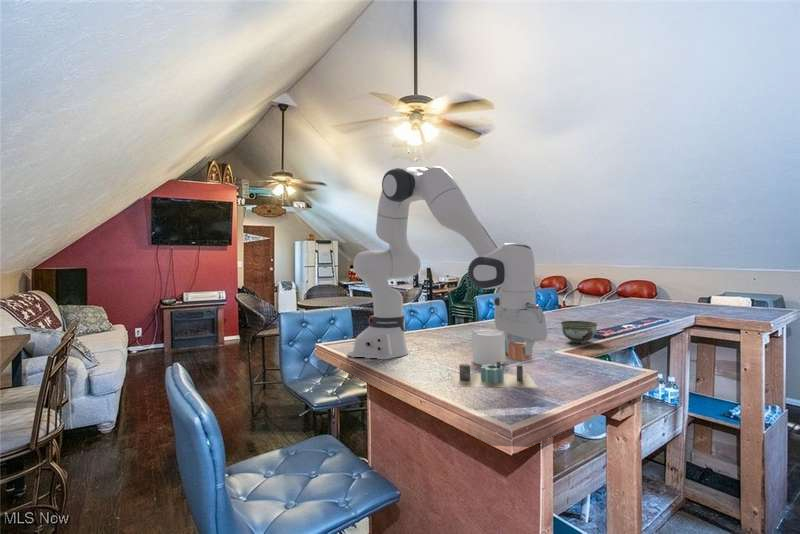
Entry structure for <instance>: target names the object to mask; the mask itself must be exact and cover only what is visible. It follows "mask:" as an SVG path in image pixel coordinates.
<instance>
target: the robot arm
mask: <svg viewBox="0 0 800 534" xmlns="http://www.w3.org/2000/svg"><path fill="white" fill-rule="evenodd" d="M381 188H382V190H381V193H380V196H379V200H378V206H377V212H376V213H377V214H376V225H375V233H376V237H378V239H379V240H381V241H383V242H385V243H387V244H388V245H389V248H388V249H370V250H364V251H360V252H358V253H357V254H356V255H355V257H354V258H353V263H352V264H353V271H354V273H355V275H356V277H358V278H359V279H360V280H362V282H364V284H366V285H367V287H368V288H369V290H370V293H371V297H372V303H373V306H372V307H373V315H370V316H369V318H368V327H366V328H365V329H364V330H363V331H361V333H359V334H358V335H357V336H356V337H355V340H354V343H353V348H351V349H350V350H349V351H348V352H347V356H348V355H349V356H351V357H350V358H354V357H365V358H364V359H370V358H377V359H376V360H391V359H394V358H399V357H400V358H401V357H403V356H404V357H405V356H406V355H408V354H409V350H408V347H407V342H406V336H405V329H406V320H405V315H404V297H403V295H402V293H401V292H400V291H399V290H397V289H395V288H393V287H392V286H390V284H389V280H395V279H396V280H398V279H408V278H411V277H416V276H417V275H418V273H419V272H420V269H421V264H422V263H421V258H420V256H419V254H418V253H417V252H416V251H415V250H413V249H412V248H411V246H410V244H409V241H408V233H407V232H408V220H409V212H410V210H409V209H410V204H411V203H412V202H417V201H423V200H424V201H425V203H426V205H427V207H428V209H429V210H430V213H431V214H432V215H433V217H434V218H435V219H436V221H437V222H438V223H439V224H440V225H441V226H442V227H443V228H446V229H448V230H451V231H453V232H455V233H457V234H458V235H460V236H461V237H463V238H464V239H466V241H468V243H469V244H470V246H471V247H472V249H473V250H474V252H475V254H476V255H477V257H476V258H474V259H473V260H472V261H471V262H470V263H469V265H468V269H467V275H468V276H467V277H468V280H469V282H470V283H471V285H473V286H474V287H476V288H478V289H481V290H492V289H501V294H500V295H498V296H496V297H494V298H493V300H492V302H493V306H495V307H494V311H493V312H494V324H495V327H496V331H501V332H503V333H504V337H505V336H506V339H507V342H508V344H509V343H515V342H514V337H513V336H514V335H516V336H519V337H522V338H525V343H526V345H525V348H523V354H525V355H532V356H533V347H534V345H535V343H536V342H543V341H546V339H547V337H548V329H547V322H546V321H547V320H546V315H545V313H544V310H543V309H542V307H541V306H540V305H539V304H536V287H535V284H534V280H535V275H536V270H535V269H536V267H535V259H534V258H535V257H534V252H533V250H532V248H531V246H529V245H528V244H522V243H517V242H505V243H503V244H502V245H501V246H500V247H497V245H496V244H495V242H494V241H493V238H492V237H491V236H490V235H489V233H488V231H486V229H485V227H484V226H483V224H482V223H481V222H480V220H479V219H478V217H477V215H476V213H475V211H474V210H473V209H472V207H471V205H470V204H469V201H468V200H467V198H466V197H465V194H464V193H463V191H462V189H461V188H460V186H459V185H458V184H457V182H456V181H455V179H454V178H453V176H452V175H450V173H449V172H448V171H447V170H446V169H445V168H443V167H442V166H437V165H436V166H431V167H420V166H410V167H402V168H400V167H399V168H398V167H396V168H392V169H390V170H388V171H387V172H385V173H384V176H383V178H382V181H381ZM349 356H348V357H349Z"/></svg>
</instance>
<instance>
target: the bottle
mask: <svg viewBox="0 0 800 534" xmlns="http://www.w3.org/2000/svg"><path fill="white" fill-rule="evenodd" d="M513 337H514V342H519V343H526V342H525V338H522V337H519V336H516V335H514V336H513ZM504 354H505V355H506V356H508V342H507V339H506V336H505V335H504Z"/></svg>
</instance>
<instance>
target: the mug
mask: <svg viewBox="0 0 800 534" xmlns="http://www.w3.org/2000/svg"><path fill="white" fill-rule="evenodd" d="M471 337H472V339H471V340H472V363H474V364H476V365H487V364H491V365H497V361H499V362H500V366H502V365H503V364H505V332H503V331H500V330H497V329H495V330H493V329H479V330H474V331H472V336H471Z"/></svg>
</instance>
